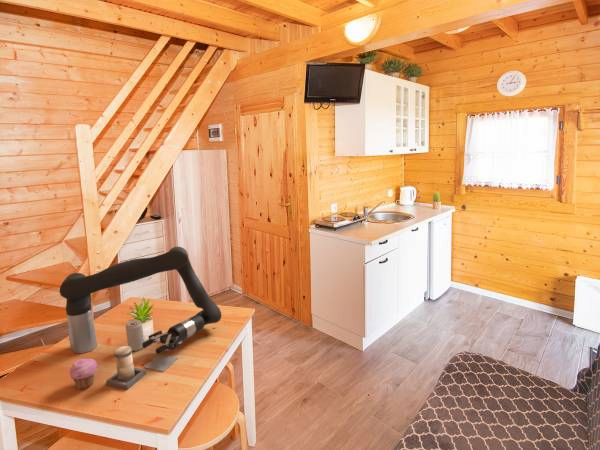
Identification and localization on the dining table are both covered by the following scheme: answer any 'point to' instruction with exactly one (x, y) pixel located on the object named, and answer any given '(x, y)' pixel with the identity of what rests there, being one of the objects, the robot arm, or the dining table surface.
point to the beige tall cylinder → (124, 363)
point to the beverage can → (134, 334)
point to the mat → (161, 363)
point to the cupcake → (83, 372)
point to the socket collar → (113, 382)
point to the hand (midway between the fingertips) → (149, 348)
